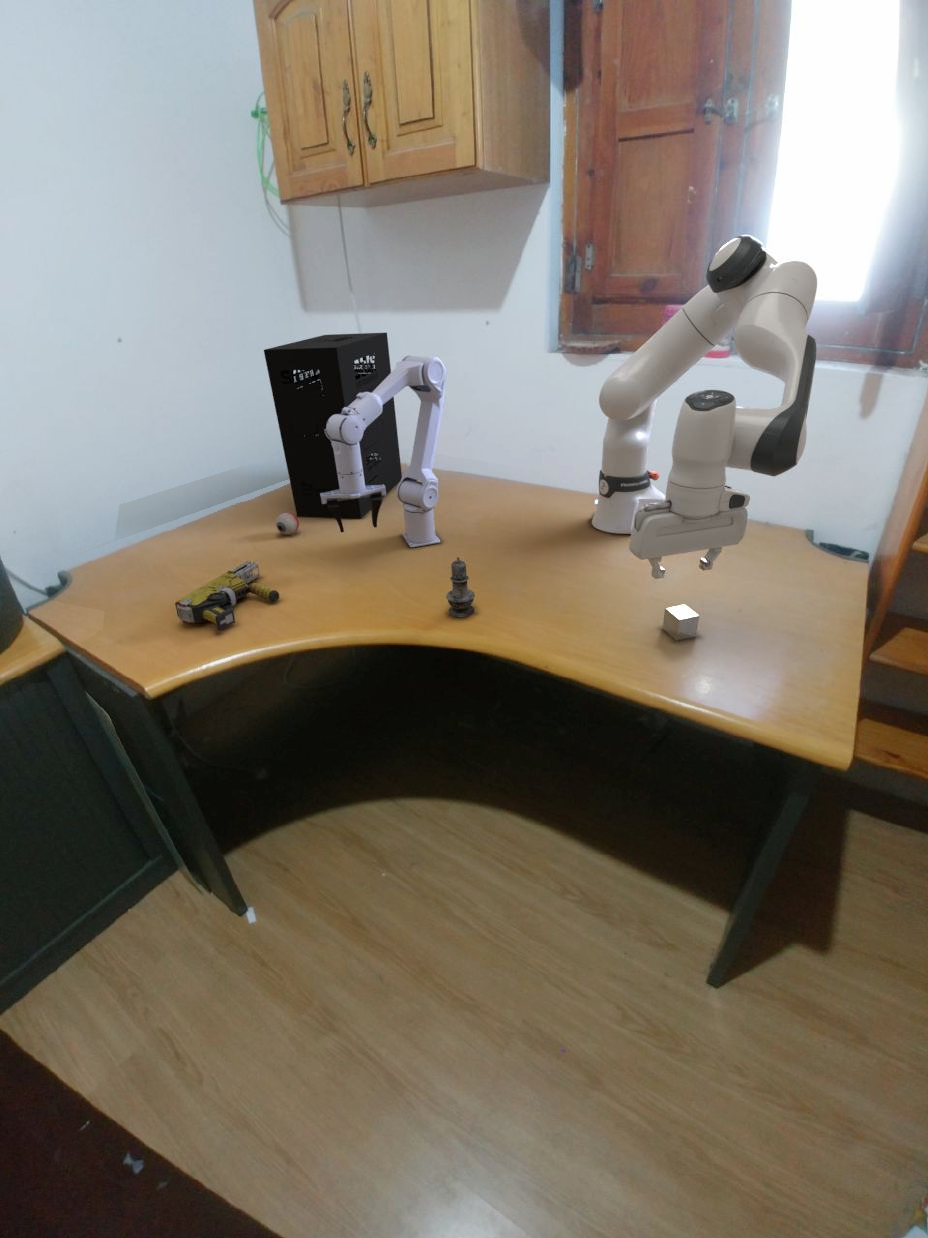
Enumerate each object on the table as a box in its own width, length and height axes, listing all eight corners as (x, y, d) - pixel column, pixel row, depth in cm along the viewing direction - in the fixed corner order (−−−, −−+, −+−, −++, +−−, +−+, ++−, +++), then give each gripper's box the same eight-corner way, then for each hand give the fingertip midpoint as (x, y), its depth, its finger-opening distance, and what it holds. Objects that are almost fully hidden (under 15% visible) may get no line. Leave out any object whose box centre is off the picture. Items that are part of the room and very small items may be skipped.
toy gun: (300, 570, 137) (245, 558, 141) (232, 617, 117) (169, 602, 121) (302, 588, 139) (247, 576, 143) (235, 638, 119) (173, 622, 123)
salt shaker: (472, 618, 120) (470, 563, 114) (444, 617, 121) (439, 562, 115) (478, 604, 125) (475, 551, 119) (450, 603, 126) (446, 550, 120)
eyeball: (273, 537, 164) (268, 516, 161) (287, 528, 169) (282, 508, 166) (291, 539, 161) (286, 518, 158) (305, 530, 166) (301, 510, 163)
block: (676, 641, 109) (679, 619, 107) (662, 628, 113) (664, 608, 111) (696, 636, 110) (699, 615, 108) (681, 624, 114) (684, 604, 112)
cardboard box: (361, 518, 173) (336, 347, 150) (296, 515, 177) (263, 349, 155) (402, 478, 204) (386, 332, 182) (346, 477, 209) (325, 334, 186)
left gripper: (318, 480, 129) (328, 539, 136) (385, 471, 132) (392, 529, 139) (316, 471, 135) (326, 528, 142) (380, 463, 138) (386, 519, 145)
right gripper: (646, 511, 94) (637, 590, 101) (759, 495, 98) (742, 571, 105) (626, 499, 99) (619, 574, 106) (734, 484, 104) (720, 557, 111)
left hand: (358, 528), depth 141 cm, fingers open, 7 cm apart
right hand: (681, 573), depth 106 cm, fingers open, 8 cm apart
